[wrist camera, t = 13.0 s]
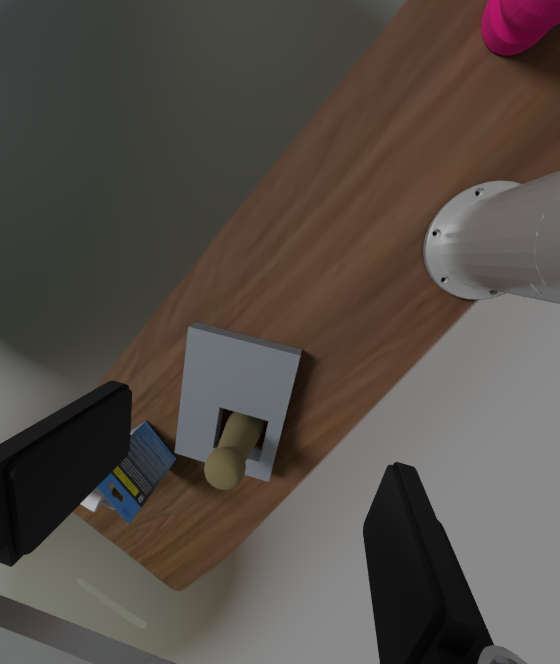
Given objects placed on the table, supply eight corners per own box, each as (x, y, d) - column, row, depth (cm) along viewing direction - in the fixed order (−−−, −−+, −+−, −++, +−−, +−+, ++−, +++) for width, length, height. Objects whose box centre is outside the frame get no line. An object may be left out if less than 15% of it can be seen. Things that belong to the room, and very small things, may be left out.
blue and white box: (131, 428, 47) (67, 485, 35) (147, 419, 46) (86, 475, 34) (162, 466, 48) (110, 534, 37) (178, 458, 47) (129, 525, 35)
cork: (222, 410, 43) (189, 460, 32) (258, 405, 42) (235, 455, 31) (234, 442, 44) (205, 500, 34) (268, 438, 43) (250, 497, 32)
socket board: (302, 349, 38) (300, 355, 35) (271, 469, 44) (268, 482, 42) (196, 322, 39) (188, 326, 37) (182, 442, 46) (174, 453, 44)
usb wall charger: (96, 471, 51) (78, 488, 48) (127, 489, 51) (111, 508, 48) (91, 484, 53) (72, 501, 49) (121, 502, 53) (105, 521, 49)
